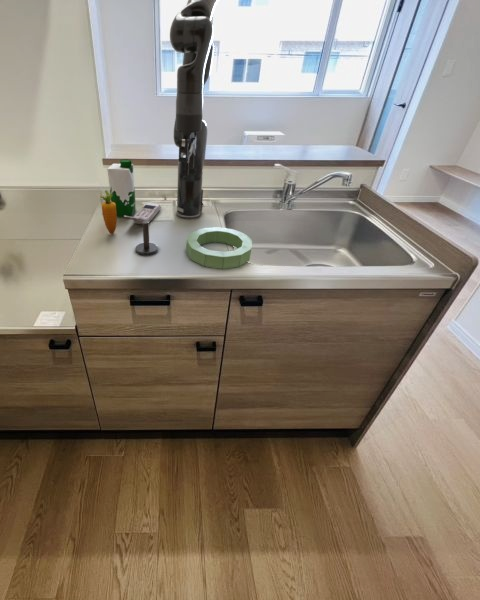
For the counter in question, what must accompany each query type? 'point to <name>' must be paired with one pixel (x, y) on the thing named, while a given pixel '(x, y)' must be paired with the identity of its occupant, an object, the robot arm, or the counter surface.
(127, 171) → the milk carton
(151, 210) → the mobile phone
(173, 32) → the robot arm
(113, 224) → the carrot
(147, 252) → the peg stand
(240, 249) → the ring
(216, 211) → the counter surface
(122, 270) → the counter surface
